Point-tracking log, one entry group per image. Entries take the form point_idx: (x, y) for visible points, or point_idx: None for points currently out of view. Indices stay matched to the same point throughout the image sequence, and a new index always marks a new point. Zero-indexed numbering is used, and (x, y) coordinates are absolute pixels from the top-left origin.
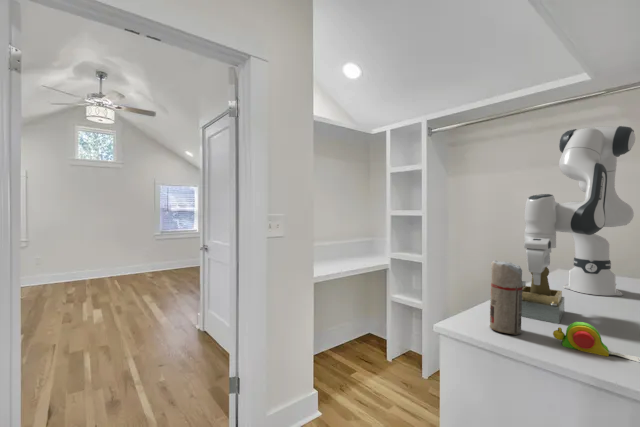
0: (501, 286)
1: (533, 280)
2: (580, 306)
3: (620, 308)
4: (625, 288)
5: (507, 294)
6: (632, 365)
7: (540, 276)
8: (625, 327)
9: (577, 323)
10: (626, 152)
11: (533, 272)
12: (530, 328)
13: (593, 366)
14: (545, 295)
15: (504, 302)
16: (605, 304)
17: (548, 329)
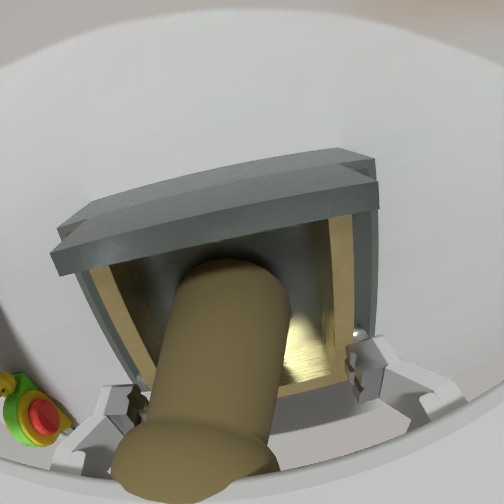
0: None
1: (154, 385)
2: (448, 305)
3: (470, 356)
4: None
5: None
6: (59, 437)
7: (102, 466)
8: (291, 423)
9: (14, 432)
10: None
11: (54, 466)
12: (22, 303)
13: (2, 405)
14: (147, 378)
15: None
16: (492, 326)
17: (64, 337)
